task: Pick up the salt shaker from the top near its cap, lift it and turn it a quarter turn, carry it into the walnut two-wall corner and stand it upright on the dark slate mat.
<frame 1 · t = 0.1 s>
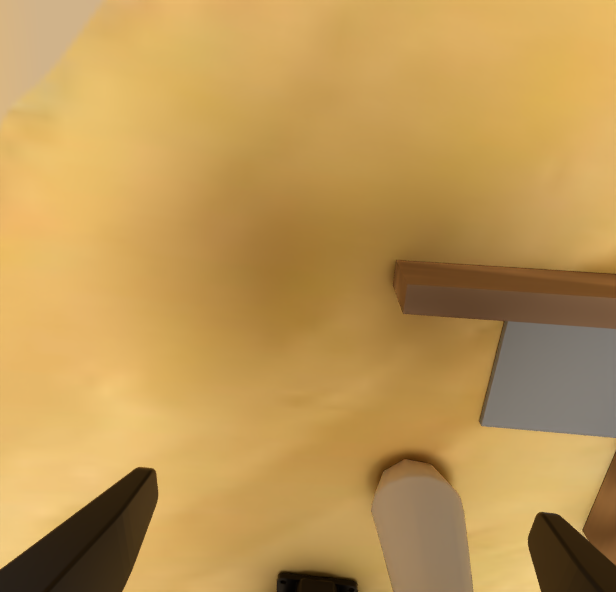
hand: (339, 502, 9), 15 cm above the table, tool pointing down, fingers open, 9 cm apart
corner walls: (487, 417, 25), on the table
salt shaker: (410, 479, 28), on the table
slate mat: (569, 368, 23), on the table
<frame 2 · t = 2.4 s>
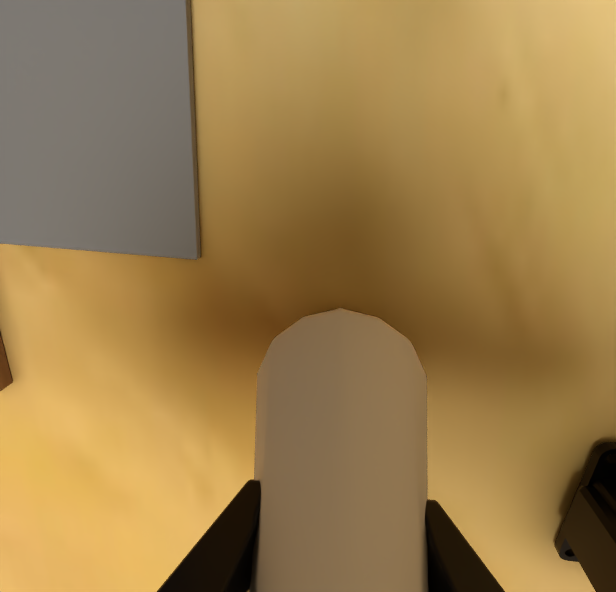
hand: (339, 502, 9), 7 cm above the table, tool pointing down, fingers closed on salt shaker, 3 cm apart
corner walls: (189, 245, 15), on the table
salt shaker: (340, 352, 16), on the table, touching gripper
slate mat: (69, 121, 13), on the table
when the fingers open (9 cm above the table, at t = 7.4 s): salt shaker drops 1 cm, resting on slate mat.
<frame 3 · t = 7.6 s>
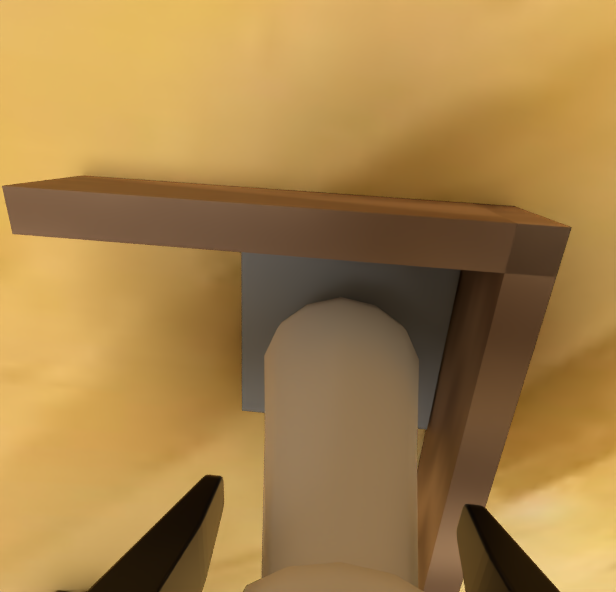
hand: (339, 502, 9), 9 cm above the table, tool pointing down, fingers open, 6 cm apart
corner walls: (252, 399, 19), on the table
salt shaker: (340, 338, 17), resting on slate mat
slate mat: (341, 333, 17), on the table
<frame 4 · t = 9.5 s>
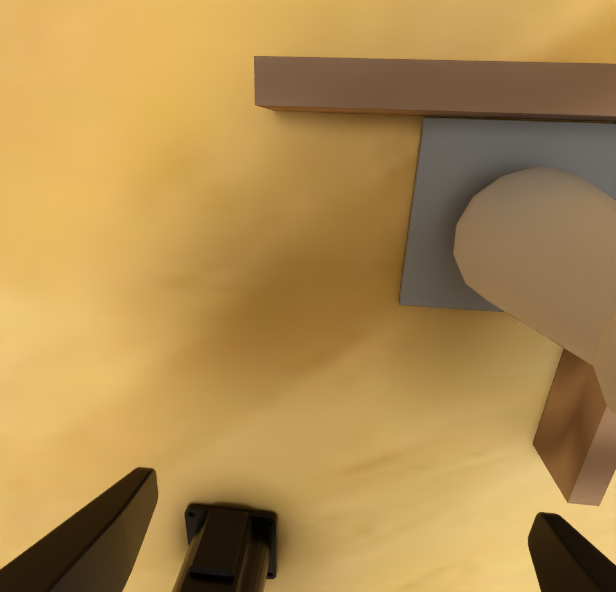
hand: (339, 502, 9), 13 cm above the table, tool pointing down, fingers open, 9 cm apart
corner walls: (407, 295, 20), on the table
salt shaker: (504, 226, 18), resting on slate mat
slate mat: (504, 222, 19), on the table
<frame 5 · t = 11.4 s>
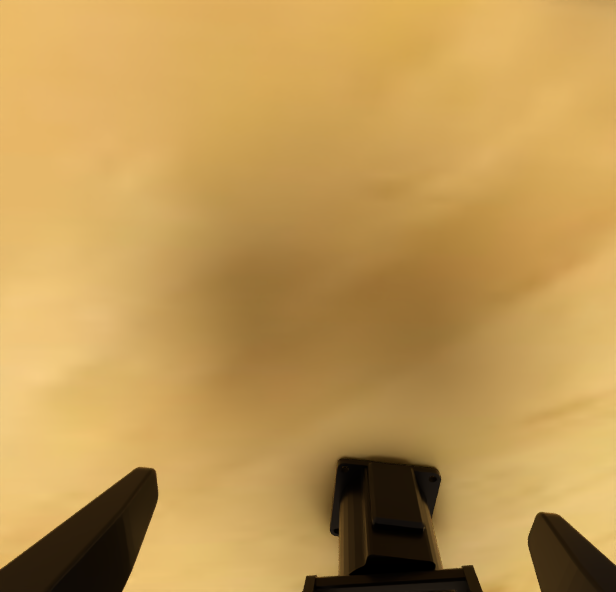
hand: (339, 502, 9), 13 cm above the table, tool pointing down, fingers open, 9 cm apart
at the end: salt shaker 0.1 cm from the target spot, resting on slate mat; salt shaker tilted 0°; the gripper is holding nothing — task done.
